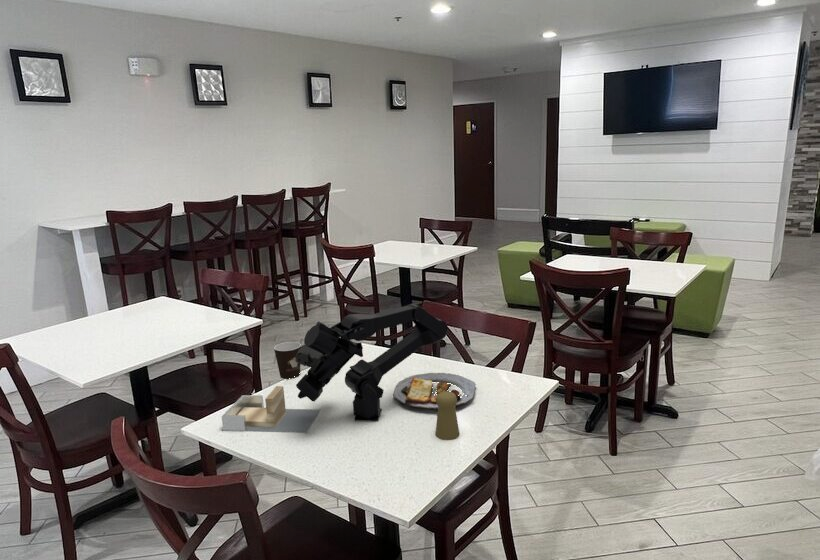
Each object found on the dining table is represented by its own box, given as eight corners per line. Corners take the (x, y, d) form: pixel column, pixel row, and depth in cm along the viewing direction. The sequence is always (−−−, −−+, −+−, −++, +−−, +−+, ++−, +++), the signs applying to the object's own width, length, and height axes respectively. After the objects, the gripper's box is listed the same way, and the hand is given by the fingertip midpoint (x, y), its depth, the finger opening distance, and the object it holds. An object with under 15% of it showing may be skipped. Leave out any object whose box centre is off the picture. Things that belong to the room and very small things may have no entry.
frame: (264, 408, 156) (262, 395, 155) (245, 431, 144) (243, 417, 143) (243, 408, 157) (242, 395, 156) (223, 430, 144) (221, 416, 143)
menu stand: (286, 413, 153) (283, 386, 151) (275, 427, 145) (272, 398, 143) (244, 412, 154) (241, 385, 153) (232, 426, 147) (228, 398, 145)
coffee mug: (277, 382, 175) (274, 352, 173) (276, 372, 183) (273, 343, 181) (314, 376, 178) (311, 347, 176) (311, 367, 186) (309, 339, 184)
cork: (444, 426, 143) (443, 386, 140) (464, 432, 139) (463, 392, 136) (430, 435, 138) (429, 394, 136) (450, 442, 134) (449, 400, 132)
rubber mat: (320, 410, 154) (320, 409, 154) (306, 433, 142) (306, 432, 141) (242, 409, 157) (242, 408, 157) (221, 432, 144) (221, 430, 144)
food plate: (470, 416, 147) (470, 403, 146) (385, 412, 152) (385, 400, 151) (478, 381, 171) (477, 370, 170) (404, 379, 176) (404, 368, 175)
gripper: (323, 326, 151) (289, 363, 156) (300, 350, 134) (262, 391, 138) (353, 353, 152) (318, 389, 156) (334, 380, 134) (295, 421, 138)
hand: (299, 397), depth 147 cm, fingers closed
